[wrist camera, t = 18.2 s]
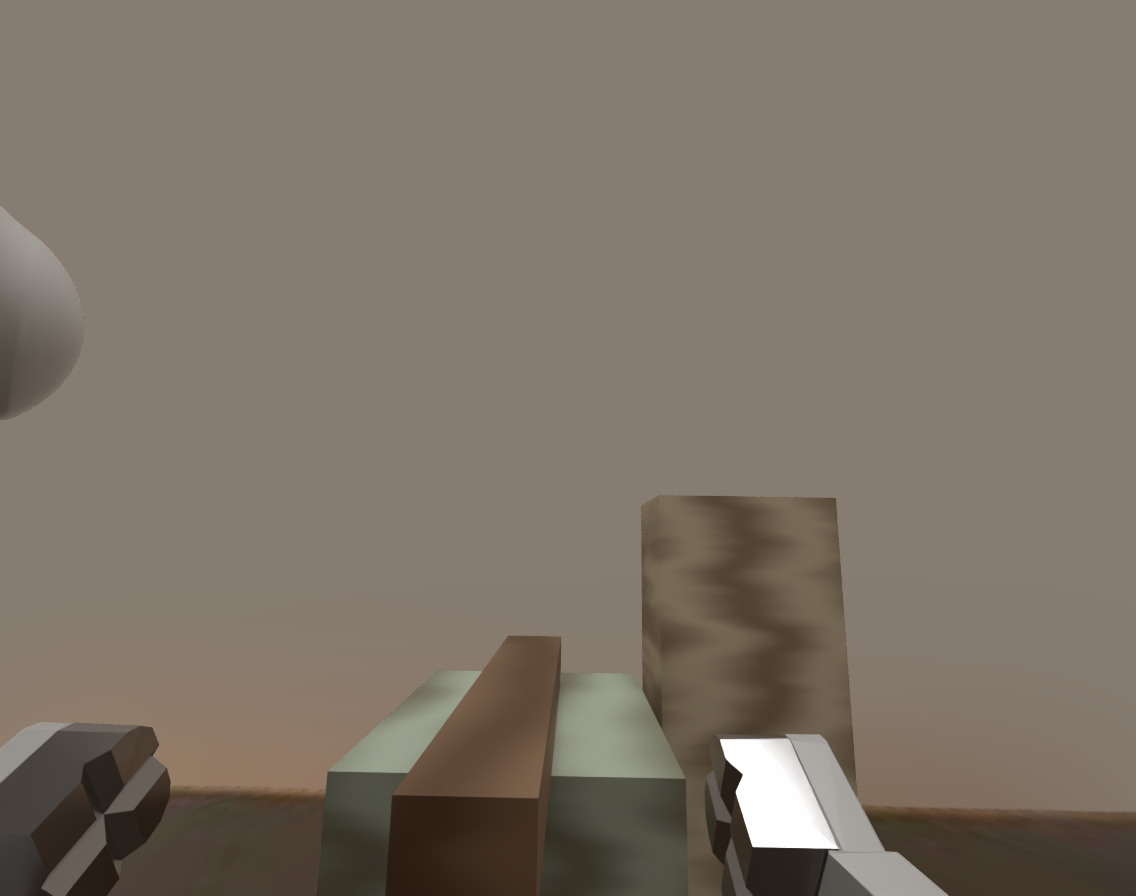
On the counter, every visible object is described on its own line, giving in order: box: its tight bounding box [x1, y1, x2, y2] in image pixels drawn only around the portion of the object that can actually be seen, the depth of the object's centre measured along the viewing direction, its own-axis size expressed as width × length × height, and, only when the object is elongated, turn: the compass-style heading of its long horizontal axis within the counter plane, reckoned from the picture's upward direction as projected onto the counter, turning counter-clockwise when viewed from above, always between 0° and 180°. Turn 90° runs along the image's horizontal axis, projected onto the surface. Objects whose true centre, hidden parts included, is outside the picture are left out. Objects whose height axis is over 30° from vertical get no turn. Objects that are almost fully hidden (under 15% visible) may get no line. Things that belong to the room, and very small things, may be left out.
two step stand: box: [317, 495, 857, 896], centre depth 27 cm, size 23×19×26 cm
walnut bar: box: [385, 636, 561, 896], centre depth 21 cm, size 3×20×2 cm, turn 179°
